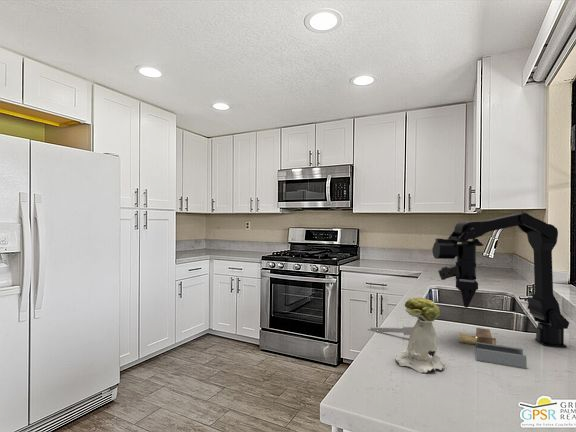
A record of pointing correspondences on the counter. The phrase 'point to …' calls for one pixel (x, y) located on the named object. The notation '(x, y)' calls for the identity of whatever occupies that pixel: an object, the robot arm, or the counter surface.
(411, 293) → the counter surface
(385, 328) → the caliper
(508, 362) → the v block
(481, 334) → the walnut beam
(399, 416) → the counter surface
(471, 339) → the golden bar
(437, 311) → the ceramic tree figurine
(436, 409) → the counter surface
